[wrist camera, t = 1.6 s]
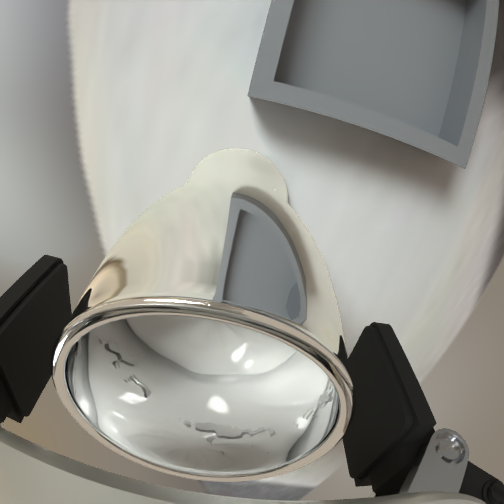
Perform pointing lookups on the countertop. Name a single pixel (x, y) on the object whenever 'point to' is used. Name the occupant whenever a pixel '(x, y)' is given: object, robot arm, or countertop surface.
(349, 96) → the tray
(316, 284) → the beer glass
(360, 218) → the countertop surface
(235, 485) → the countertop surface
